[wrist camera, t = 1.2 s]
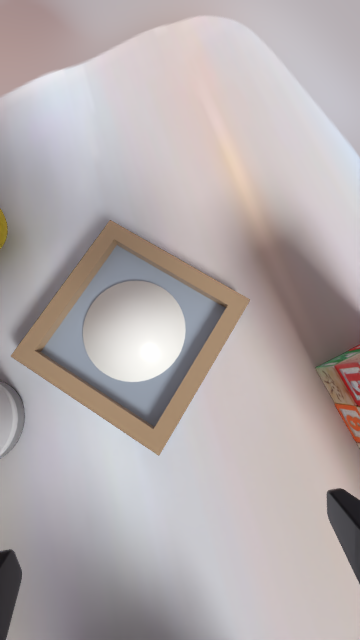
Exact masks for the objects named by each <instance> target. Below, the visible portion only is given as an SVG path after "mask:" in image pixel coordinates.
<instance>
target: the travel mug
mask: <svg viewBox="0 0 360 640" xmlns="http://www.w3.org/2000/svg"><path fill="white" fill-rule="evenodd" d="M24 418H25V415H24V407H23V404H22V400H21V399H20V397H19V395H18V393H17V392H16V391H15V390H14V389H13V388H12V387H11V386H9V385H8V384H6V383H4V382H2V381H0V459H1V458H2V457H4V456H5V455H6V454H7V453H8V452H9V451H10V450H11V449H12V448H13V447H14V446H15V444H16V443H17V441H18V439H19V437H20V435H21V433H22V430H23V426H24Z"/></svg>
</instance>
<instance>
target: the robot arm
mask: <svg viewBox="0 0 360 640" xmlns="http://www.w3.org/2000/svg"><path fill="white" fill-rule="evenodd" d="M327 514H328V518H329V521H330V523H331V525H332V527H333V529H334V531H335V534H336V536H337V538H338V540H339V542H340V544H341V546H342V548H343V550H344V552H345V554H346V557H347V559H348V561H349V563H350V565H351V567H352V569H353V571H354V573H355V575H356V577H357V579H358V581H359V583H360V500H358V499H357V498H356V497H354V496H353V495H351V494H350V493H348V492H347V491H345V490H344V489H341V488H338V489H333V490H329V491H327ZM21 579H22V570H21V567H20V565H19V562H18V560H17V557H16V555H15V552H14V551H13V550H11V549H9V550H4V551H0V640H6V637H7V634H8V630H9V626H10V622H11V618H12V614H13V610H14V607H15V603H16V599H17V595H18V591H19V587H20V583H21Z"/></svg>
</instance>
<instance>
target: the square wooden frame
mask: <svg viewBox="0 0 360 640" xmlns="http://www.w3.org/2000/svg"><path fill="white" fill-rule="evenodd" d="M249 301H250V299H248V298H246V297H245V296H243V295H241V294H239V293H237V292H236V291H234V290H232V289H230V288H229V287H227V286H225V285H223V284H222V283H220V282H218V281H216V280H215V279H213V278H211V277H209V276H208V275H206V274H204V273H202V272H201V271H199V270H197V269H195V268H194V267H192V266H190V265H188V264H187V263H185V262H183V261H181V260H180V259H178V258H176V257H174V256H173V255H171V254H169V253H167V252H166V251H164V250H162V249H160V248H159V247H157V246H155V245H153V244H151V243H150V242H148V241H146V240H144V239H143V238H141V237H139V236H137V235H136V234H134V233H132V232H130V231H129V230H127V229H125V228H123V227H122V226H120V225H118V224H116V223H115V222H113V221H111V220H110V221H109V222H108V223H107V225H106V226H105V228H104V229H103V230H102V232H101V233H100V234H99V236H98V237H97V239H96V240H95V241H94V243H93V244H92V245H91V247H90V248H89V249H88V251H87V252H86V254H85V255H84V256H83V258H82V259H81V260H80V262H79V263H78V265H77V266H76V267H75V269H74V270H73V271H72V273H71V274H70V276H69V277H68V278H67V280H66V281H65V282H64V284H63V285H62V286H61V288H60V289H59V291H58V292H57V293H56V295H55V296H54V297H53V299H52V300H51V302H50V303H49V304H48V306H47V307H46V308H45V310H44V311H43V312H42V314H41V315H40V317H39V318H38V319H37V321H36V322H35V323H34V325H33V326H32V328H31V329H30V330H29V332H28V333H27V334H26V336H25V337H24V339H23V340H22V341H21V343H20V344H19V345H18V347H17V348H16V349H15V351H14V352H13V354H12V355H11V357H13V358H14V359H16V360H17V361H18V362H20V363H21V364H23V365H24V366H26V367H27V368H29V369H30V370H32V371H33V372H35V373H36V374H38V375H39V376H41V377H42V378H44V379H45V380H47V381H48V382H50V383H51V384H53V385H54V386H56V387H57V388H59V389H60V390H62V391H63V392H65V393H66V394H68V395H69V396H71V397H72V398H74V399H75V400H77V401H78V402H80V403H81V404H83V405H84V406H86V407H87V408H89V409H90V410H92V411H93V412H94V413H96V414H97V415H99V416H100V417H102V418H103V419H105V420H106V421H108V422H109V423H111V424H112V425H114V426H115V427H117V428H118V429H120V430H121V431H123V432H124V433H126V434H127V435H129V436H130V437H132V438H133V439H135V440H136V441H138V442H139V443H141V444H142V445H144V446H145V447H147V448H148V449H150V450H151V451H153V452H154V453H156V454H157V455H160V453H161V451H162V450H163V448H164V446H165V445H166V443H167V441H168V440H169V438H170V436H171V434H172V433H173V431H174V429H175V428H176V426H177V424H178V422H179V421H180V419H181V417H182V416H183V414H184V412H185V411H186V409H187V407H188V405H189V404H190V402H191V400H192V399H193V397H194V395H195V393H196V392H197V390H198V388H199V387H200V385H201V383H202V382H203V380H204V378H205V376H206V375H207V373H208V371H209V370H210V368H211V366H212V364H213V363H214V361H215V359H216V358H217V356H218V354H219V352H220V351H221V349H222V347H223V346H224V344H225V342H226V341H227V339H228V337H229V335H230V334H231V332H232V330H233V329H234V327H235V325H236V323H237V322H238V320H239V318H240V317H241V315H242V313H243V312H244V310H245V308H246V306H247V305H248V303H249Z"/></svg>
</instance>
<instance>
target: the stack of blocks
mask: <svg viewBox="0 0 360 640" xmlns="http://www.w3.org/2000/svg"><path fill="white" fill-rule="evenodd" d="M316 371H317V372H318V374H319V376H320V378H321V379H322V381H323V383H324V385H325V387H326V388H327V390H328V392H329V394H330V395H331V397H332V399H333V401H334V402H335V406H336V408H337V410H338V412H339V413H340V415H341V417H342V419H343V420H344V422H345V424H346V426H347V427H348V429H349V431H350V433H351V434H352V436H353V438H354V440H355V441H356V443H357V445H358V447H359V448H360V345H358V346H356V347H354V348H352V349H350V350H349V351H348V352H346V353H344V354H342V355H340V356H338V357H336V358H334V359H332V360H330V361H328V362H326V363H324V364H322V365H320V366H318V367H316Z"/></svg>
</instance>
